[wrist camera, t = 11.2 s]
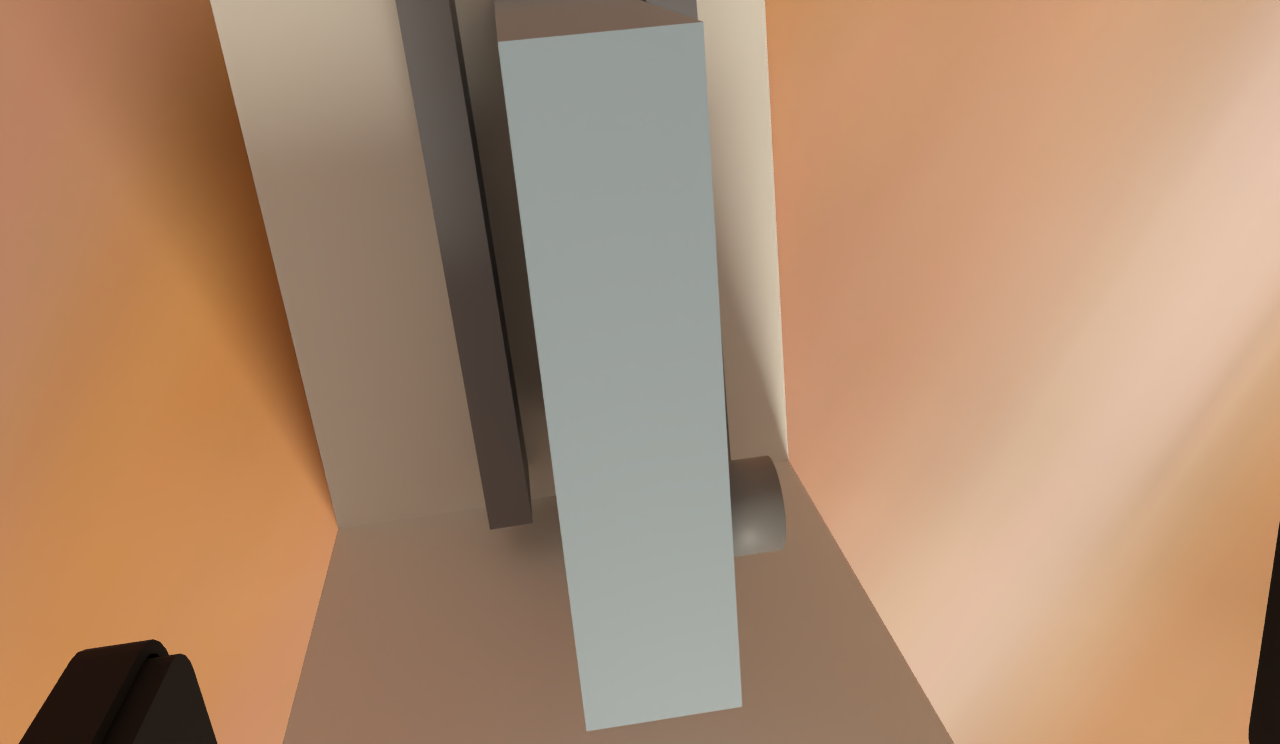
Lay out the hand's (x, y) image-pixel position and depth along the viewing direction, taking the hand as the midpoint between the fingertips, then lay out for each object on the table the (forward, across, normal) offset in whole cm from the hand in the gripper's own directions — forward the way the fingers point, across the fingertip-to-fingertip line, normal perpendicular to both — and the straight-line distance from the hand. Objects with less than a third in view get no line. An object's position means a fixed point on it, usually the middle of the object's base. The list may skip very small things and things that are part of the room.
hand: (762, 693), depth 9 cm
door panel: (+18, +1, 0) cm, 18 cm away
